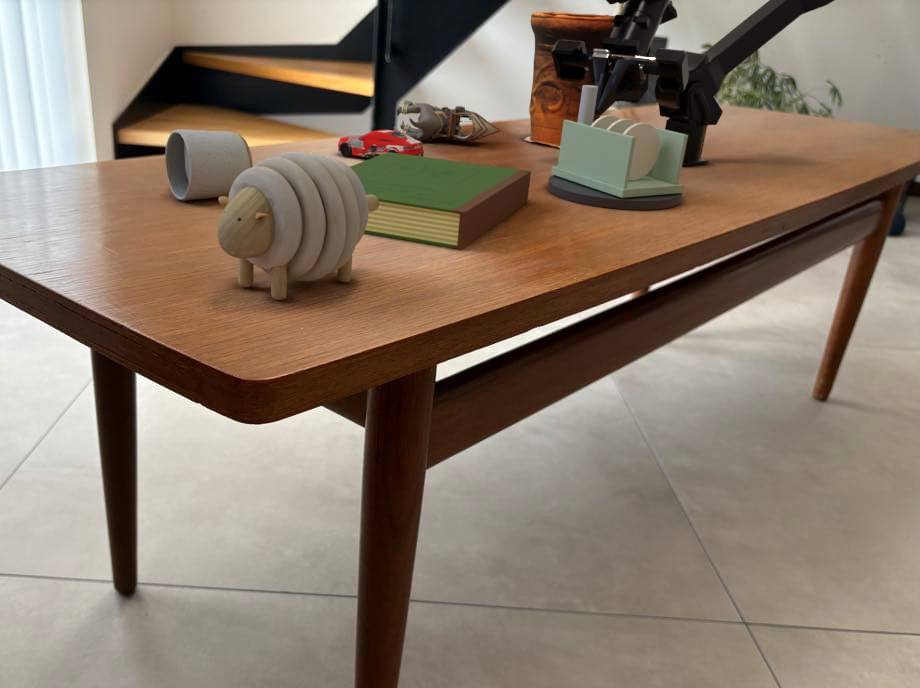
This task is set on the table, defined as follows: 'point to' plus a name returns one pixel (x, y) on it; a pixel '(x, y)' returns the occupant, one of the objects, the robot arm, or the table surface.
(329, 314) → the table surface
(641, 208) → the turntable
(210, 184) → the ceramic mug
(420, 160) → the hardcover book
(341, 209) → the toy sheep
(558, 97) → the vessel
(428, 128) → the figurine
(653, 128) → the dish rack
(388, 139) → the race car
